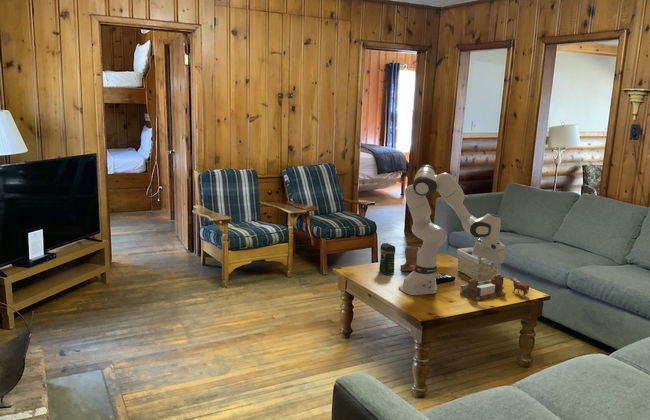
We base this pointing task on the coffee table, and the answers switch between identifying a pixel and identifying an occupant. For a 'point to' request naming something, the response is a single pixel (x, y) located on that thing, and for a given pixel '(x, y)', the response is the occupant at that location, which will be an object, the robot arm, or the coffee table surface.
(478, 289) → the rail bar
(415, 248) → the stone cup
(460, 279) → the coffee table surface
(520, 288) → the bull figurine
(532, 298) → the coffee table surface
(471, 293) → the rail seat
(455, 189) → the robot arm
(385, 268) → the coffee jar
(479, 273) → the storage basket
